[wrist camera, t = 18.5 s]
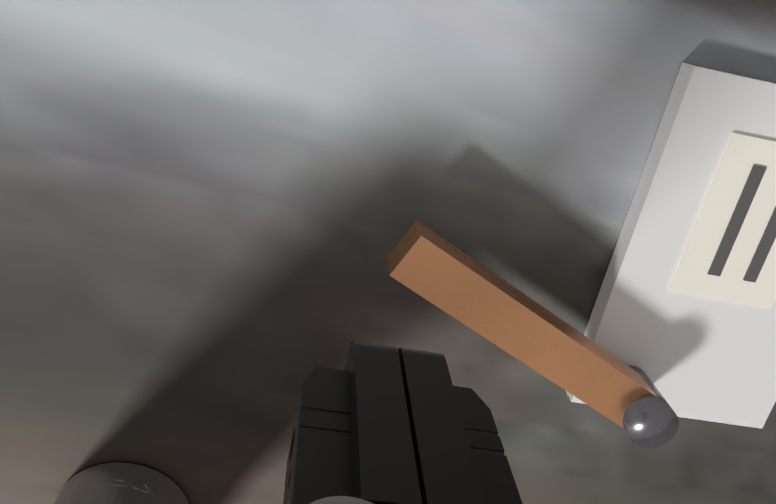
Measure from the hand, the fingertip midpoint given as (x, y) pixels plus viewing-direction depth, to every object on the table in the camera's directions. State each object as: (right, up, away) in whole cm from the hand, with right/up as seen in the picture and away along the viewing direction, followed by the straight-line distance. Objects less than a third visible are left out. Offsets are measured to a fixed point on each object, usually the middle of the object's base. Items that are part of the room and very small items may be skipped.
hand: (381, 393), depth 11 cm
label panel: (+21, +2, +32) cm, 39 cm away
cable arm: (+9, -2, +31) cm, 32 cm away
